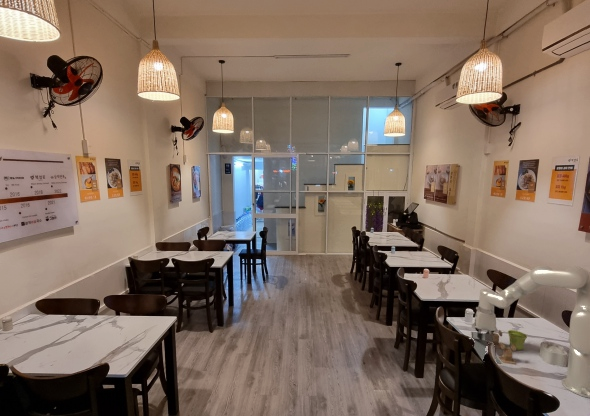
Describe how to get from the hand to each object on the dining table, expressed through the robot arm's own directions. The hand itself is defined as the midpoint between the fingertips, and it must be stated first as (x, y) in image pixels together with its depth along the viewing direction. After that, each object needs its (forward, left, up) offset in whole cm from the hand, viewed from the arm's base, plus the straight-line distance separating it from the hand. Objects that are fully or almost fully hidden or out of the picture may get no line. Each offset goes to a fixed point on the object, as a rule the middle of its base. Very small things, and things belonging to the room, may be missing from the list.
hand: (483, 339), depth 167 cm
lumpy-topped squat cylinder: (+1, -35, -7) cm, 36 cm away
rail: (+2, 0, -1) cm, 3 cm away
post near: (-8, -9, -7) cm, 14 cm away
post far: (+8, -9, -7) cm, 14 cm away
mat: (0, 0, -7) cm, 7 cm away
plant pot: (+9, -21, -7) cm, 24 cm away
